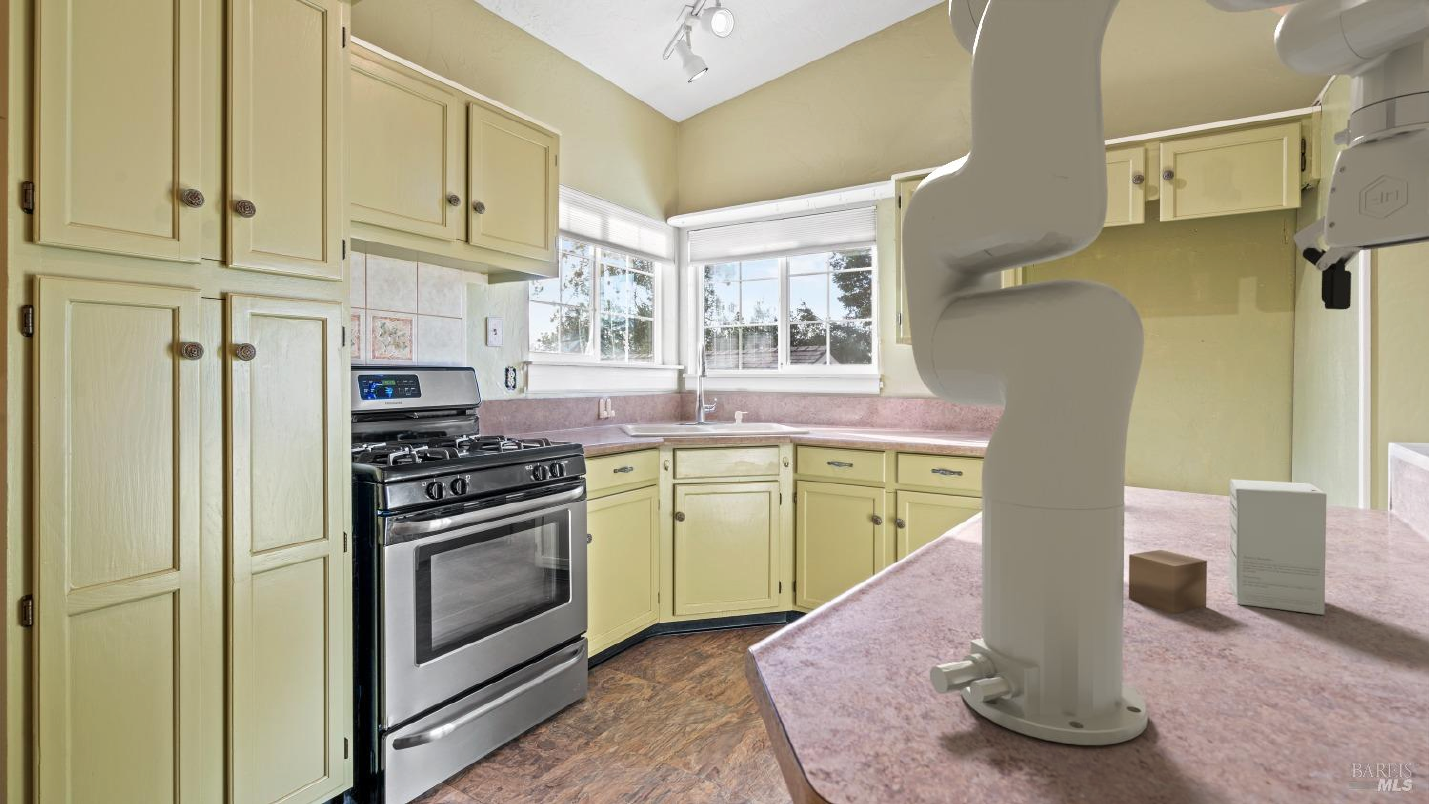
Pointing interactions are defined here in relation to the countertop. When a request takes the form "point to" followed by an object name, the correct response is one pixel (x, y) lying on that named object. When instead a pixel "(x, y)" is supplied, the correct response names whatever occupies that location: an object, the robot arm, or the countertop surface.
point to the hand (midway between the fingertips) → (1397, 304)
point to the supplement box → (1278, 545)
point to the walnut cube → (1168, 580)
